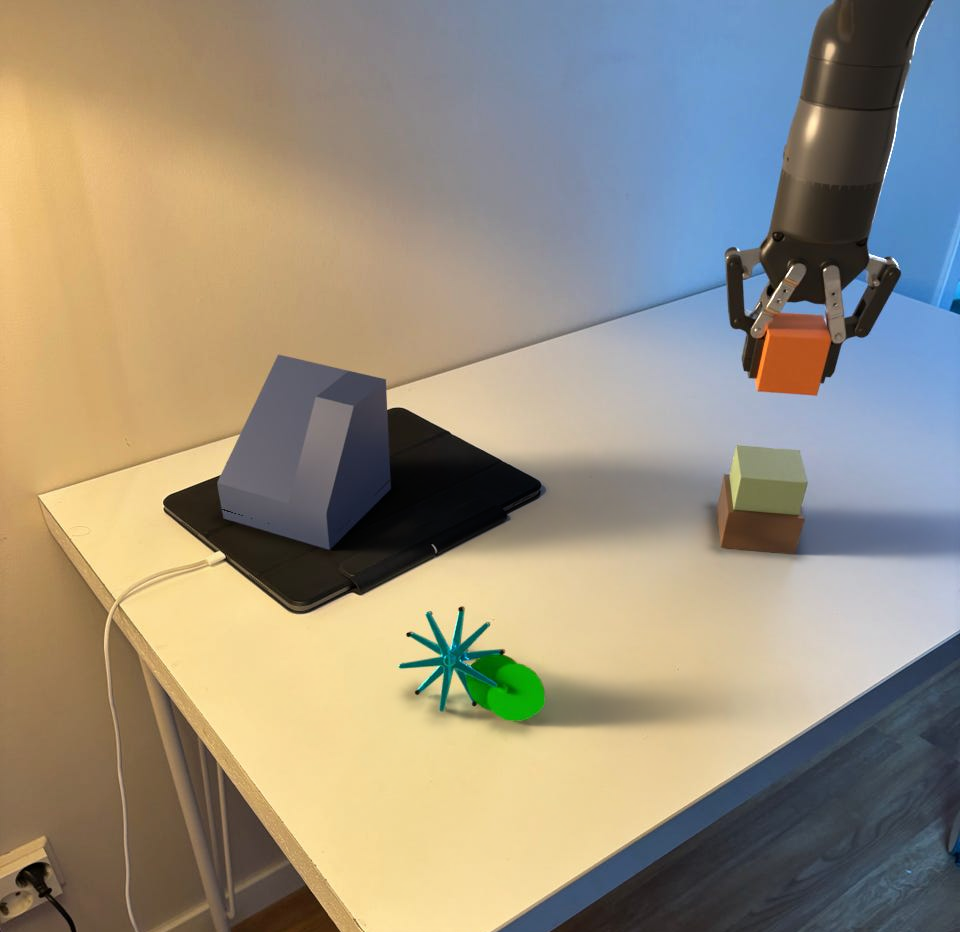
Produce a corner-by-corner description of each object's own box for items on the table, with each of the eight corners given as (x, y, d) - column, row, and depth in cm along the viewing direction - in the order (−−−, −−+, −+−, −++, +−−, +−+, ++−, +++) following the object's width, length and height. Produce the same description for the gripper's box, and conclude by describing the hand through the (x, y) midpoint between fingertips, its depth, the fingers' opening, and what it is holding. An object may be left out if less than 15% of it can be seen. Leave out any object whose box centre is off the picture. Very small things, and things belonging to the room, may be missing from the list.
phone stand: (223, 518, 96) (203, 405, 88) (291, 461, 104) (278, 354, 97) (329, 549, 92) (318, 435, 85) (390, 488, 101) (385, 379, 93)
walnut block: (787, 514, 98) (796, 479, 96) (795, 554, 93) (805, 519, 91) (716, 508, 99) (723, 473, 96) (720, 548, 94) (728, 512, 91)
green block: (791, 481, 96) (800, 449, 93) (799, 515, 91) (808, 482, 89) (729, 476, 96) (735, 444, 94) (733, 510, 92) (740, 477, 89)
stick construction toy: (379, 680, 75) (424, 590, 74) (400, 669, 82) (441, 586, 81) (517, 755, 74) (565, 665, 73) (527, 737, 81) (571, 654, 80)
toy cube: (809, 370, 87) (823, 315, 84) (817, 396, 83) (831, 339, 80) (752, 366, 87) (763, 311, 84) (757, 391, 84) (769, 335, 80)
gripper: (740, 175, 72) (702, 391, 83) (943, 186, 71) (877, 403, 82) (733, 148, 77) (699, 353, 89) (921, 157, 76) (862, 364, 87)
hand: (785, 376), depth 85 cm, fingers closed on toy cube, 5 cm apart
